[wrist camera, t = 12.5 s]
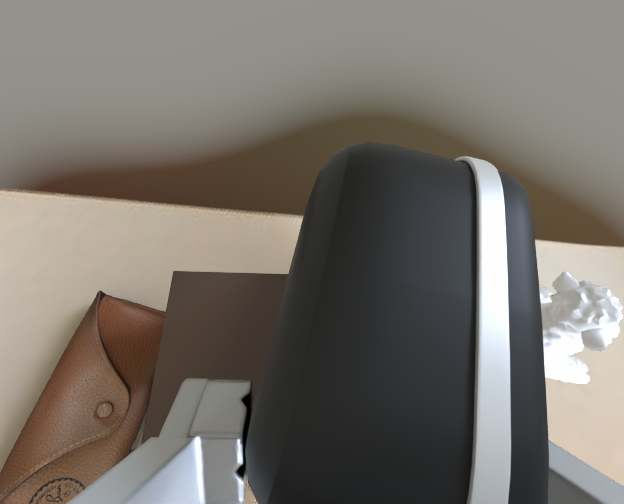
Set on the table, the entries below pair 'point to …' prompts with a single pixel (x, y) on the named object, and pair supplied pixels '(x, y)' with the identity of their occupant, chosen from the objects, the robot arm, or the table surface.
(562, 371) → the sitting furry creature
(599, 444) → the table surface
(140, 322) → the sunglasses case
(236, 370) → the cabinet
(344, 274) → the battery charger
